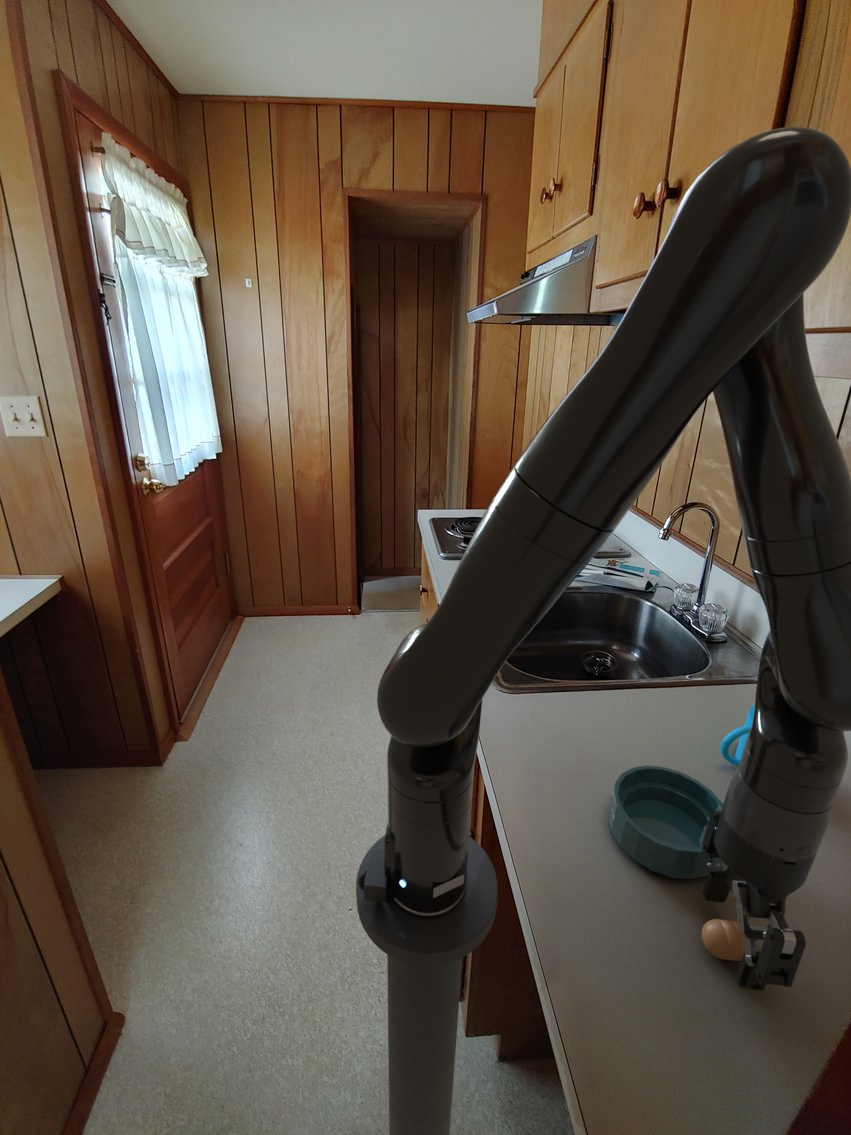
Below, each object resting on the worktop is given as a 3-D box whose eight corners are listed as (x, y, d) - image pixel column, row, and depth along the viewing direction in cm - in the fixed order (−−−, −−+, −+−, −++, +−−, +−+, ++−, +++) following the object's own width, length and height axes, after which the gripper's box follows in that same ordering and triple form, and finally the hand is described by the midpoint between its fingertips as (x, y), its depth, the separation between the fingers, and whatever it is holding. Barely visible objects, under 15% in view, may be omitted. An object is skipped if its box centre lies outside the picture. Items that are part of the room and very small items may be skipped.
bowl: (620, 876, 64) (627, 845, 62) (599, 789, 76) (604, 761, 74) (739, 888, 63) (750, 857, 61) (698, 798, 75) (706, 770, 73)
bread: (705, 965, 55) (713, 943, 54) (693, 931, 58) (700, 909, 57) (753, 970, 55) (762, 948, 53) (739, 936, 58) (747, 914, 56)
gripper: (698, 760, 56) (669, 872, 62) (763, 890, 43) (718, 1014, 49) (776, 766, 55) (738, 878, 62) (865, 899, 42) (806, 1024, 49)
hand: (729, 938), depth 56 cm, fingers open, 8 cm apart
